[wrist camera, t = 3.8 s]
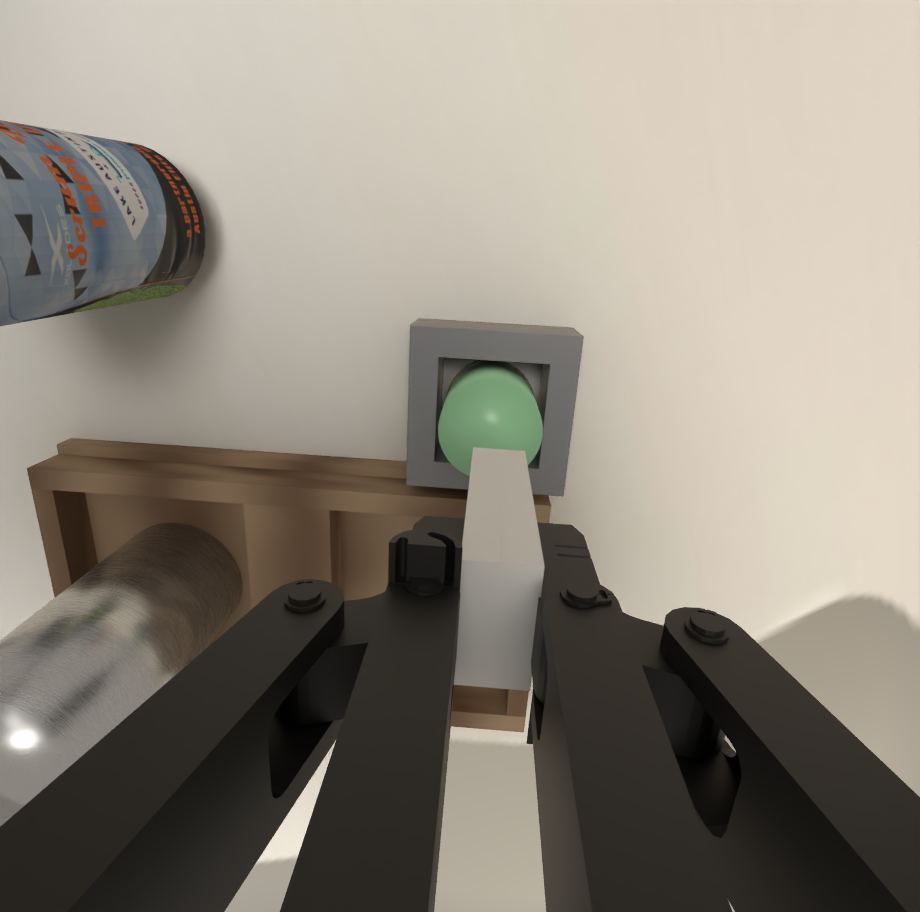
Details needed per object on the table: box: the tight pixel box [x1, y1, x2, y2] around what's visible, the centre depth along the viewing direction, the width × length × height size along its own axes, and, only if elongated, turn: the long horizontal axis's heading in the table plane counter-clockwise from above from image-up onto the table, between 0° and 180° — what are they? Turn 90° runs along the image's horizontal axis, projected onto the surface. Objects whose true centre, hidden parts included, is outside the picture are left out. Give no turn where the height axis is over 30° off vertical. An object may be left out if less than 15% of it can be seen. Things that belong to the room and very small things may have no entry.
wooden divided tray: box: [27, 438, 551, 732], centre depth 29 cm, size 24×14×3 cm, turn 87°
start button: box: [438, 360, 543, 476], centre depth 24 cm, size 4×4×4 cm
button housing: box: [406, 318, 584, 496], centre depth 25 cm, size 7×7×3 cm
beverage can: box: [0, 120, 205, 326], centre depth 19 cm, size 6×7×12 cm
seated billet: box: [0, 523, 242, 826], centre depth 24 cm, size 6×6×12 cm
